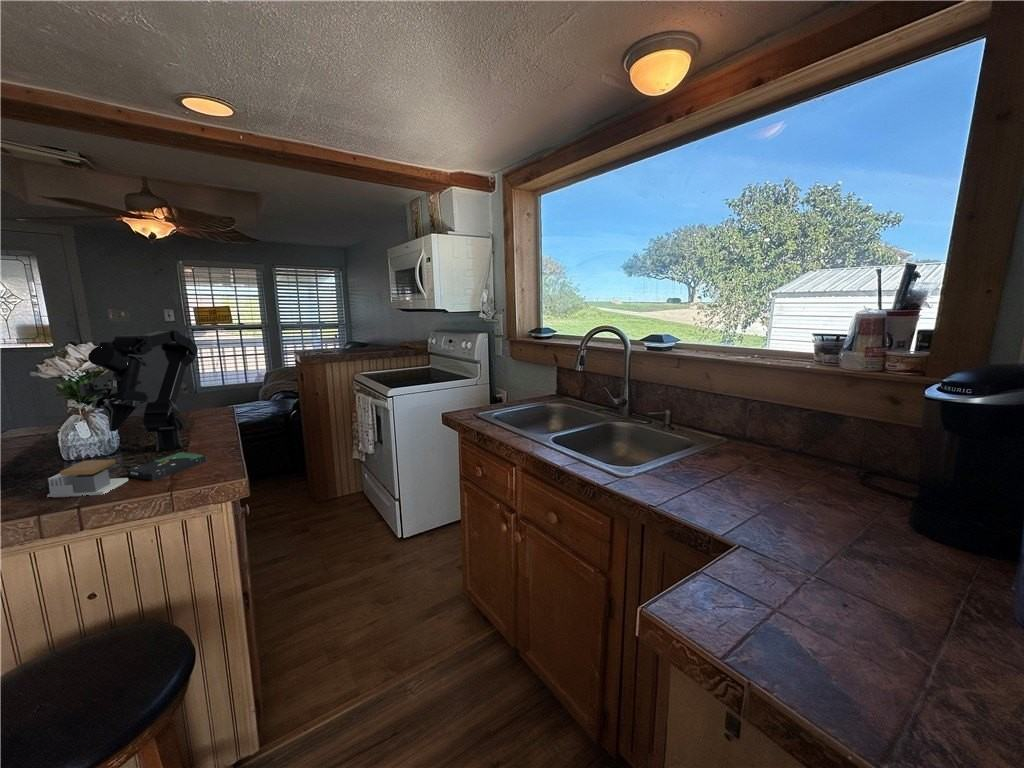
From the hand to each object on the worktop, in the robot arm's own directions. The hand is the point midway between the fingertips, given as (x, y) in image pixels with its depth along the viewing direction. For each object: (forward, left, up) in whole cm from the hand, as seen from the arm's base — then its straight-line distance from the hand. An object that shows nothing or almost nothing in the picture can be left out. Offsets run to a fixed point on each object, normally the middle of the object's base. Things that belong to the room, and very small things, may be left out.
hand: (112, 431), depth 113 cm
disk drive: (+4, +11, -13) cm, 17 cm away
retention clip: (+10, -4, -12) cm, 16 cm away
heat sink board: (+8, -5, -13) cm, 16 cm away
